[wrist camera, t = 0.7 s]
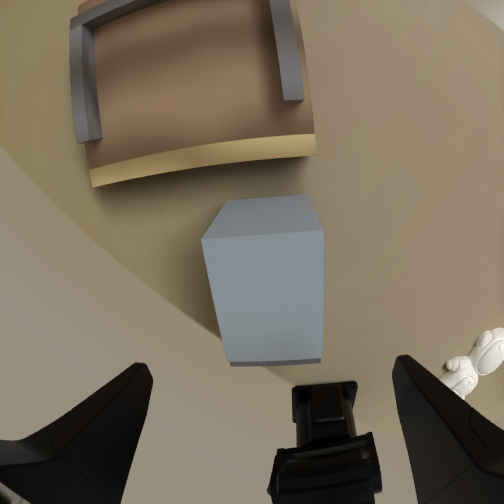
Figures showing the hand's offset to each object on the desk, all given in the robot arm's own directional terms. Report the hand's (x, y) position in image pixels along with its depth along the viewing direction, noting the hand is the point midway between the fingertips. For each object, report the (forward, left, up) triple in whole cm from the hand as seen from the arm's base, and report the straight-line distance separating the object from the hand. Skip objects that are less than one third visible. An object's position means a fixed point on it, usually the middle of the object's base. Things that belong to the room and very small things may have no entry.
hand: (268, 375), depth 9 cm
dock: (+13, +4, -12) cm, 18 cm away
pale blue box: (0, 0, -12) cm, 12 cm away
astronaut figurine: (-17, -22, -12) cm, 30 cm away
